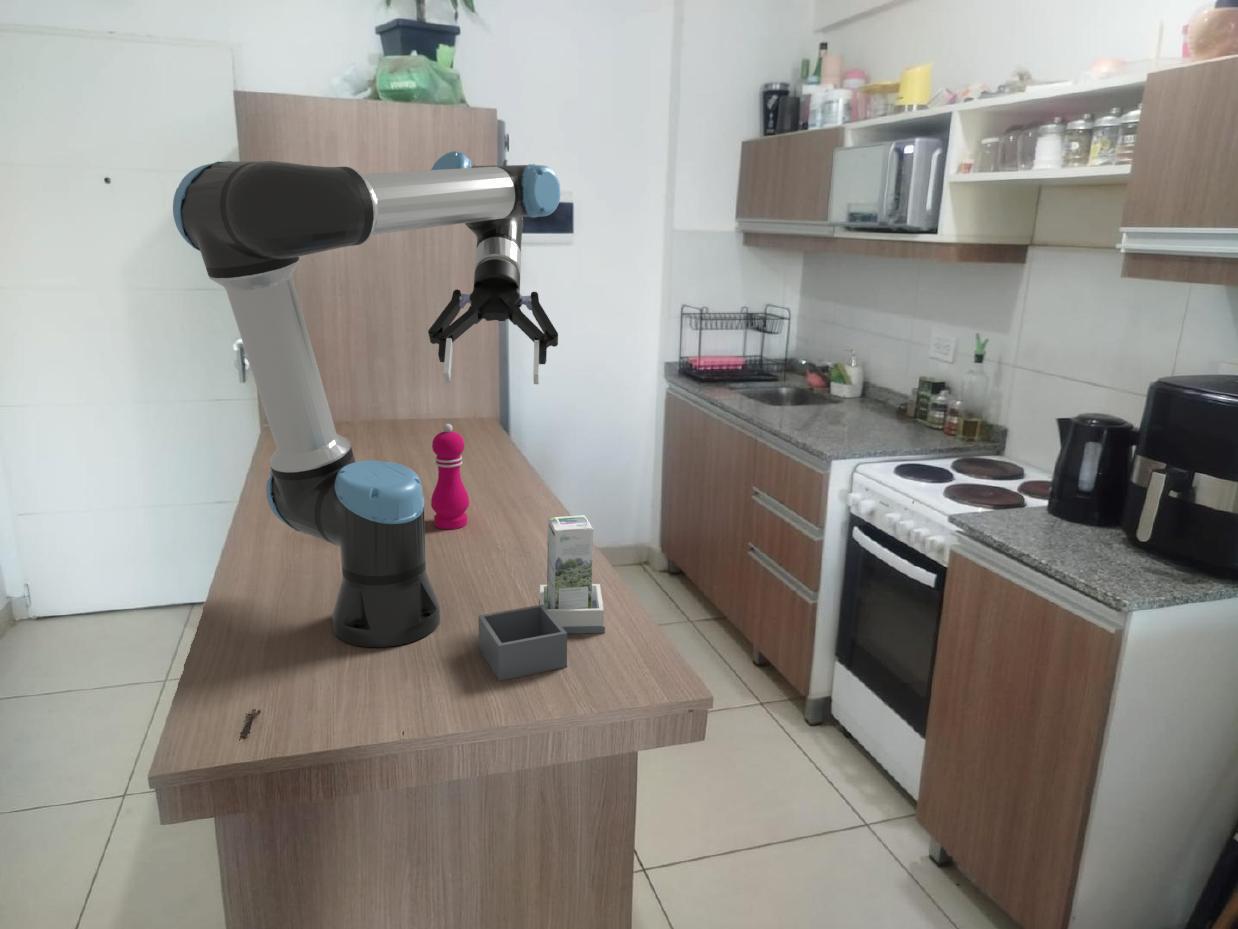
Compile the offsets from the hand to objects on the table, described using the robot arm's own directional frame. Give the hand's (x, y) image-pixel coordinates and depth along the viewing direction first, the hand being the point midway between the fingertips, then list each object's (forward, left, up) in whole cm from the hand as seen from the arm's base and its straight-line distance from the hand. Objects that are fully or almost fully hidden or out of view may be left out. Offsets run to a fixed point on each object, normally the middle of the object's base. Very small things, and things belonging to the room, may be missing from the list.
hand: (491, 378), depth 133 cm
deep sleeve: (-4, -26, -34) cm, 43 cm away
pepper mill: (0, +29, -34) cm, 45 cm away
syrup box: (+6, -17, -33) cm, 38 cm away
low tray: (+6, -17, -34) cm, 39 cm away
